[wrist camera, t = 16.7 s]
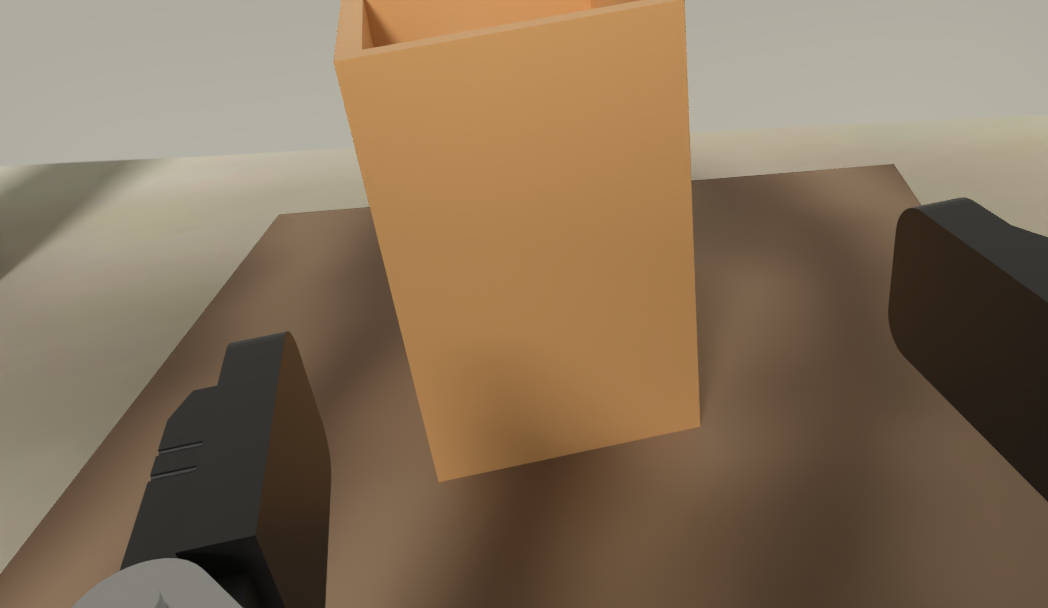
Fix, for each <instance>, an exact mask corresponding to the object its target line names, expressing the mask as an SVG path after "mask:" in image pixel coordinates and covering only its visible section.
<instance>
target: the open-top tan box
mask: <svg viewBox="0 0 1048 608" xmlns="http://www.w3.org/2000/svg"><path fill="white" fill-rule="evenodd" d="M334 65H335V70H336V73H337V78H338V81H339V86H340V89H341V94H342V97H343V101H344V106H345V110H346V113H347V117H348V122H349V126H350V130H351V134H352V137H353V141H354V145H355V150H356V154H357V158H358V162H359V166H360V170H361V174H362V178H363V182H364V186H365V190H366V194H367V198H368V202H369V206H370V210H371V214H372V218H373V222H374V226H375V230H376V234H377V238H378V242H379V246H380V250H381V254H382V258H383V262H384V266H385V270H386V274H387V278H388V282H389V286H390V290H391V294H392V298H393V302H394V306H395V310H396V314H397V318H398V322H399V326H400V330H401V334H402V338H403V342H404V346H405V350H406V354H407V358H408V362H409V366H410V370H411V374H412V378H413V382H414V386H415V390H416V394H417V398H418V402H419V406H420V410H421V414H422V418H423V422H424V426H425V430H426V434H427V438H428V442H429V446H430V450H431V454H432V458H433V462H434V466H435V470H436V474H437V478H438V482H442V481H447V480H452V479H457V478H461V477H466V476H471V475H475V474H480V473H485V472H489V471H494V470H499V469H504V468H508V467H513V466H518V465H522V464H527V463H532V462H537V461H541V460H546V459H551V458H555V457H560V456H565V455H569V454H574V453H579V452H584V451H588V450H593V449H598V448H602V447H607V446H612V445H616V444H621V443H626V442H631V441H635V440H640V439H645V438H649V437H654V436H659V435H664V434H668V433H673V432H678V431H682V430H687V429H692V428H696V427H700V404H699V377H698V350H697V323H696V296H695V269H694V242H693V214H692V187H691V160H690V133H689V109H688V108H689V107H688V80H687V52H686V25H685V0H341V7H340V14H339V23H338V30H337V38H336V46H335V54H334Z"/></svg>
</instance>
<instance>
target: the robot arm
mask: <svg viewBox="0 0 1048 608" xmlns="http://www.w3.org/2000/svg"><path fill="white" fill-rule="evenodd" d="M888 320H889V326H890V331H891V334H892V337H893V340H894V342H895V344H896V346H897V348H898V349H899V351H900V352H901V354H902V355H903V356H904V357H905V358H906V359H907V360H908V361H909V362H910V363H911V364H912V365H913V366H914V367H915V368H916V369H917V370H918V371H919V372H920V373H921V374H922V376H923V377H924V378H925V379H926V380H927V381H928V382H929V383H930V384H931V385H932V386H933V387H934V388H935V389H936V390H937V391H938V392H939V393H940V394H941V395H942V396H943V397H944V398H945V399H946V400H947V401H948V402H949V403H950V404H951V405H952V406H953V407H954V408H955V409H956V410H957V411H958V412H959V413H960V414H961V415H962V416H963V417H964V418H965V419H966V420H967V421H968V422H969V423H970V424H971V425H972V426H973V427H974V428H975V429H976V430H977V431H978V432H979V433H980V434H981V435H982V436H983V437H984V438H985V439H986V440H987V441H988V442H989V443H990V444H991V445H992V446H993V447H994V448H995V449H996V450H997V451H998V452H999V453H1000V454H1001V455H1002V456H1003V457H1004V458H1005V459H1006V460H1007V461H1008V462H1009V464H1010V465H1011V466H1012V467H1013V468H1014V469H1015V470H1016V471H1017V472H1018V473H1019V474H1020V475H1021V476H1022V477H1023V478H1024V479H1025V480H1026V481H1027V482H1028V483H1029V484H1030V485H1031V486H1032V487H1033V488H1034V489H1035V490H1036V491H1037V492H1038V493H1039V494H1040V495H1041V496H1042V497H1043V498H1044V499H1045V500H1046V501H1047V502H1048V237H1045V236H1042V235H1039V234H1036V233H1033V232H1030V231H1027V230H1024V229H1021V228H1018V227H1015V226H1012V225H1010V224H1008V223H1007V222H1005V221H1004V220H1002V219H1001V218H999V217H998V216H996V215H994V214H993V213H991V212H990V211H988V210H987V209H985V208H984V207H982V206H980V205H979V204H977V203H976V202H974V201H973V200H971V199H968V198H957V199H952V200H947V201H942V202H937V203H932V204H927V205H922V206H917V207H912V208H908V209H906V210H905V211H903V212H902V214H901V215H900V217H899V219H898V222H897V226H896V234H895V244H894V254H893V264H892V275H891V285H890V295H889V305H888ZM158 452H159V456H156V457H155V461H154V464H153V467H152V470H151V473H150V477H151V481H149V482H148V483H147V486H146V489H145V492H144V495H143V498H142V501H141V505H140V508H139V511H138V514H137V517H136V520H135V523H134V527H133V530H132V533H131V536H130V539H129V542H128V545H127V549H126V552H125V555H124V558H123V561H122V564H121V567H120V571H119V572H117V573H115V574H113V575H111V576H109V577H108V578H106V579H104V580H103V581H101V582H100V583H98V584H97V585H96V586H94V587H93V588H92V589H90V590H89V591H88V592H87V593H86V594H84V595H83V596H82V597H81V598H80V599H79V600H78V601H77V602H76V603H75V604H74V605H73V606H72V608H325V604H326V583H327V561H328V539H329V517H330V496H331V460H330V453H329V447H328V441H327V437H326V433H325V429H324V426H323V423H322V420H321V417H320V413H319V410H318V407H317V404H316V401H315V398H314V395H313V392H312V389H311V386H310V383H309V380H308V377H307V374H306V371H305V368H304V365H303V362H302V359H301V356H300V352H299V349H298V347H297V344H296V342H295V339H294V337H293V336H292V334H291V333H290V332H289V331H286V332H281V333H276V334H271V335H266V336H261V337H256V338H251V339H246V340H241V341H236V342H231V343H229V344H228V346H227V348H226V352H225V356H224V360H223V364H222V368H221V372H220V376H219V380H218V384H217V386H212V387H207V388H202V389H198V390H193V391H192V392H191V393H190V394H189V396H188V397H187V398H186V399H185V400H184V401H183V402H182V404H181V405H180V406H179V407H178V408H177V409H176V411H175V412H174V413H173V414H172V415H171V416H170V418H169V419H168V420H167V423H166V426H165V429H164V432H163V436H162V439H161V442H160V445H159V448H158Z"/></svg>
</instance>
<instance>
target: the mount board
mask: <svg viewBox="0 0 1048 608" xmlns="http://www.w3.org/2000/svg"><path fill="white" fill-rule="evenodd" d="M691 187H692V214H693V242H694V269H695V296H696V323H697V350H698V377H699V404H700V427H696V428H692V429H687V430H682V431H678V432H673V433H668V434H664V435H659V436H654V437H649V438H645V439H640V440H635V441H631V442H626V443H621V444H616V445H612V446H607V447H602V448H598V449H593V450H588V451H584V452H579V453H574V454H569V455H565V456H560V457H555V458H551V459H546V460H541V461H537V462H532V463H527V464H522V465H518V466H513V467H508V468H504V469H499V470H494V471H489V472H485V473H480V474H475V475H471V476H466V477H461V478H457V479H452V480H447V481H442V482H438V478H437V474H436V470H435V466H434V462H433V458H432V454H431V450H430V446H429V442H428V438H427V434H426V430H425V426H424V422H423V418H422V414H421V410H420V406H419V402H418V398H417V394H416V390H415V386H414V382H413V378H412V374H411V370H410V366H409V362H408V358H407V354H406V350H405V346H404V342H403V338H402V334H401V330H400V326H399V322H398V318H397V314H396V310H395V306H394V302H393V298H392V294H391V290H390V286H389V282H388V278H387V274H386V270H385V266H384V262H383V258H382V254H381V250H380V246H379V242H378V238H377V234H376V230H375V226H374V222H373V218H372V214H371V210H370V207H366V208H353V209H341V210H329V211H317V212H305V213H293V214H280V215H278V217H277V218H276V219H275V220H274V222H273V223H272V224H271V226H270V227H269V228H268V229H267V231H266V232H265V233H264V235H263V236H262V237H261V238H260V240H259V241H258V242H257V244H256V245H255V246H254V247H253V249H252V250H251V251H250V253H249V254H248V255H247V257H246V258H245V259H244V260H243V262H242V263H241V264H240V266H239V267H238V268H237V269H236V271H235V272H234V273H233V275H232V276H231V277H230V278H229V280H228V281H227V282H226V284H225V285H224V286H223V288H222V289H221V290H220V291H219V293H218V294H217V295H216V297H215V298H214V299H213V300H212V302H211V303H210V304H209V306H208V307H207V308H206V309H205V311H204V312H203V313H202V315H201V316H200V317H199V318H198V320H197V321H196V322H195V324H194V325H193V326H192V328H191V329H190V330H189V331H188V333H187V334H186V335H185V337H184V338H183V339H182V340H181V342H180V343H179V344H178V346H177V347H176V348H175V349H174V351H173V352H172V353H171V355H170V356H169V357H168V358H167V360H166V361H165V362H164V364H163V365H162V366H161V368H160V369H159V370H158V371H157V373H156V374H155V375H154V377H153V378H152V379H151V380H150V382H149V383H148V384H147V386H146V387H145V388H144V389H143V391H142V392H141V393H140V395H139V396H138V397H137V399H136V400H135V401H134V402H133V404H132V405H131V406H130V408H129V409H128V410H127V411H126V413H125V414H124V415H123V417H122V418H121V419H120V420H119V422H118V423H117V424H116V426H115V427H114V428H113V429H112V431H111V432H110V433H109V435H108V436H107V437H106V439H105V440H104V441H103V442H102V444H101V445H100V446H99V448H98V449H97V450H96V451H95V453H94V454H93V455H92V457H91V458H90V459H89V460H88V462H87V463H86V464H85V466H84V467H83V468H82V469H81V471H80V472H79V473H78V475H77V476H76V477H75V479H74V480H73V481H72V482H71V484H70V485H69V486H68V488H67V489H66V490H65V491H64V493H63V494H62V495H61V497H60V498H59V499H58V500H57V502H56V503H55V504H54V506H53V507H52V508H51V510H50V511H49V512H48V513H47V515H46V516H45V517H44V519H43V520H42V521H41V522H40V524H39V525H38V526H37V528H36V529H35V530H34V531H33V533H32V534H31V535H30V537H29V538H28V539H27V540H26V542H25V543H24V544H23V546H22V547H21V548H20V550H19V551H18V552H17V553H16V555H15V556H14V557H13V559H12V560H11V561H10V562H9V564H8V565H7V566H6V568H5V569H4V570H3V571H2V573H1V574H0V608H72V606H73V605H74V604H75V603H76V602H77V601H78V600H79V599H80V598H81V597H82V596H83V595H84V594H86V593H87V592H88V591H89V590H90V589H92V588H93V587H94V586H96V585H97V584H98V583H100V582H101V581H103V580H104V579H106V578H108V577H109V576H111V575H113V574H115V573H117V572H119V571H120V567H121V564H122V561H123V558H124V555H125V552H126V549H127V545H128V542H129V539H130V536H131V533H132V530H133V527H134V523H135V520H136V517H137V514H138V511H139V508H140V505H141V501H142V498H143V495H144V492H145V489H146V486H147V483H148V482H149V481H151V477H150V473H151V470H152V467H153V464H154V461H155V457H156V456H159V452H158V448H159V445H160V442H161V439H162V436H163V432H164V429H165V426H166V423H167V420H168V419H169V418H170V416H171V415H172V414H173V413H174V412H175V411H176V409H177V408H178V407H179V406H180V405H181V404H182V402H183V401H184V400H185V399H186V398H187V397H188V396H189V394H190V393H191V392H192V391H193V390H198V389H202V388H207V387H212V386H217V384H218V380H219V376H220V372H221V368H222V364H223V360H224V356H225V352H226V348H227V346H228V344H229V343H231V342H236V341H241V340H246V339H251V338H256V337H261V336H266V335H271V334H276V333H281V332H286V331H289V332H290V333H291V334H292V336H293V337H294V339H295V342H296V344H297V347H298V349H299V352H300V356H301V359H302V362H303V365H304V368H305V371H306V374H307V377H308V380H309V383H310V386H311V389H312V392H313V395H314V398H315V401H316V404H317V407H318V410H319V413H320V417H321V420H322V423H323V426H324V429H325V433H326V437H327V441H328V447H329V453H330V460H331V496H330V517H329V539H328V561H327V583H326V604H325V608H1048V502H1047V501H1046V500H1045V499H1044V498H1043V497H1042V496H1041V495H1040V494H1039V493H1038V492H1037V491H1036V490H1035V489H1034V488H1033V487H1032V486H1031V485H1030V484H1029V483H1028V482H1027V481H1026V480H1025V479H1024V478H1023V477H1022V476H1021V475H1020V474H1019V473H1018V472H1017V471H1016V470H1015V469H1014V468H1013V467H1012V466H1011V465H1010V464H1009V462H1008V461H1007V460H1006V459H1005V458H1004V457H1003V456H1002V455H1001V454H1000V453H999V452H998V451H997V450H996V449H995V448H994V447H993V446H992V445H991V444H990V443H989V442H988V441H987V440H986V439H985V438H984V437H983V436H982V435H981V434H980V433H979V432H978V431H977V430H976V429H975V428H974V427H973V426H972V425H971V424H970V423H969V422H968V421H967V420H966V419H965V418H964V417H963V416H962V415H961V414H960V413H959V412H958V411H957V410H956V409H955V408H954V407H953V406H952V405H951V404H950V403H949V402H948V401H947V400H946V399H945V398H944V397H943V396H942V395H941V394H940V393H939V392H938V391H937V390H936V389H935V388H934V387H933V386H932V385H931V384H930V383H929V382H928V381H927V380H926V379H925V378H924V377H923V376H922V374H921V373H920V372H919V371H918V370H917V369H916V368H915V367H914V366H913V365H912V364H911V363H910V362H909V361H908V360H907V359H906V358H905V357H904V356H903V355H902V354H901V352H900V351H899V349H898V348H897V346H896V344H895V342H894V340H893V337H892V334H891V331H890V326H889V320H888V305H889V295H890V285H891V275H892V264H893V254H894V244H895V234H896V226H897V222H898V219H899V217H900V215H901V214H902V212H903V211H905V210H906V209H908V208H912V207H917V206H921V204H920V203H919V201H918V200H917V198H916V197H915V195H914V194H913V192H912V191H911V189H910V188H909V186H908V185H907V183H906V182H905V180H904V179H903V177H902V176H901V174H900V173H899V171H898V170H897V168H896V167H895V165H894V164H889V165H877V166H865V167H853V168H840V169H828V170H816V171H804V172H792V173H780V174H767V175H755V176H743V177H731V178H719V179H707V180H694V181H691Z"/></svg>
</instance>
